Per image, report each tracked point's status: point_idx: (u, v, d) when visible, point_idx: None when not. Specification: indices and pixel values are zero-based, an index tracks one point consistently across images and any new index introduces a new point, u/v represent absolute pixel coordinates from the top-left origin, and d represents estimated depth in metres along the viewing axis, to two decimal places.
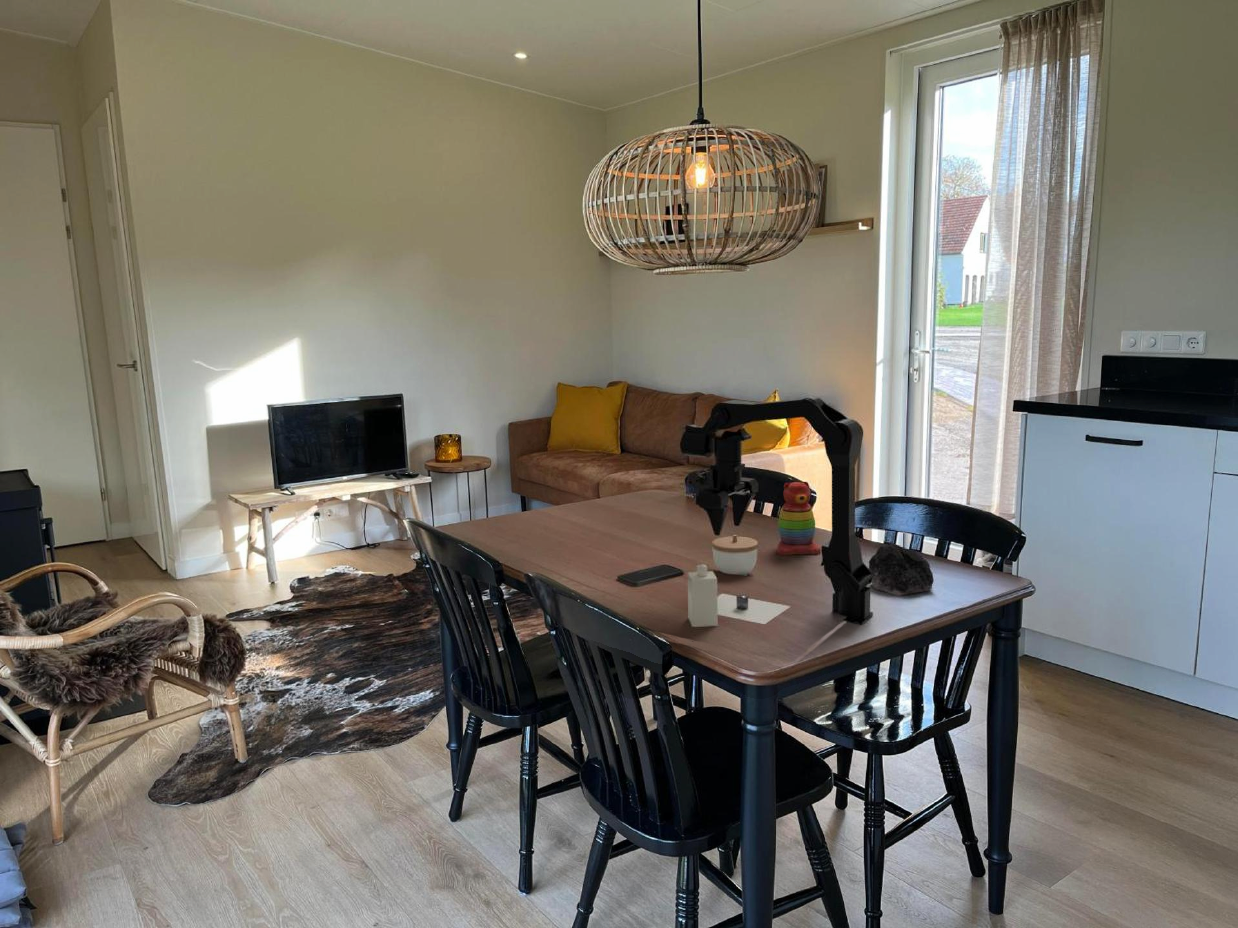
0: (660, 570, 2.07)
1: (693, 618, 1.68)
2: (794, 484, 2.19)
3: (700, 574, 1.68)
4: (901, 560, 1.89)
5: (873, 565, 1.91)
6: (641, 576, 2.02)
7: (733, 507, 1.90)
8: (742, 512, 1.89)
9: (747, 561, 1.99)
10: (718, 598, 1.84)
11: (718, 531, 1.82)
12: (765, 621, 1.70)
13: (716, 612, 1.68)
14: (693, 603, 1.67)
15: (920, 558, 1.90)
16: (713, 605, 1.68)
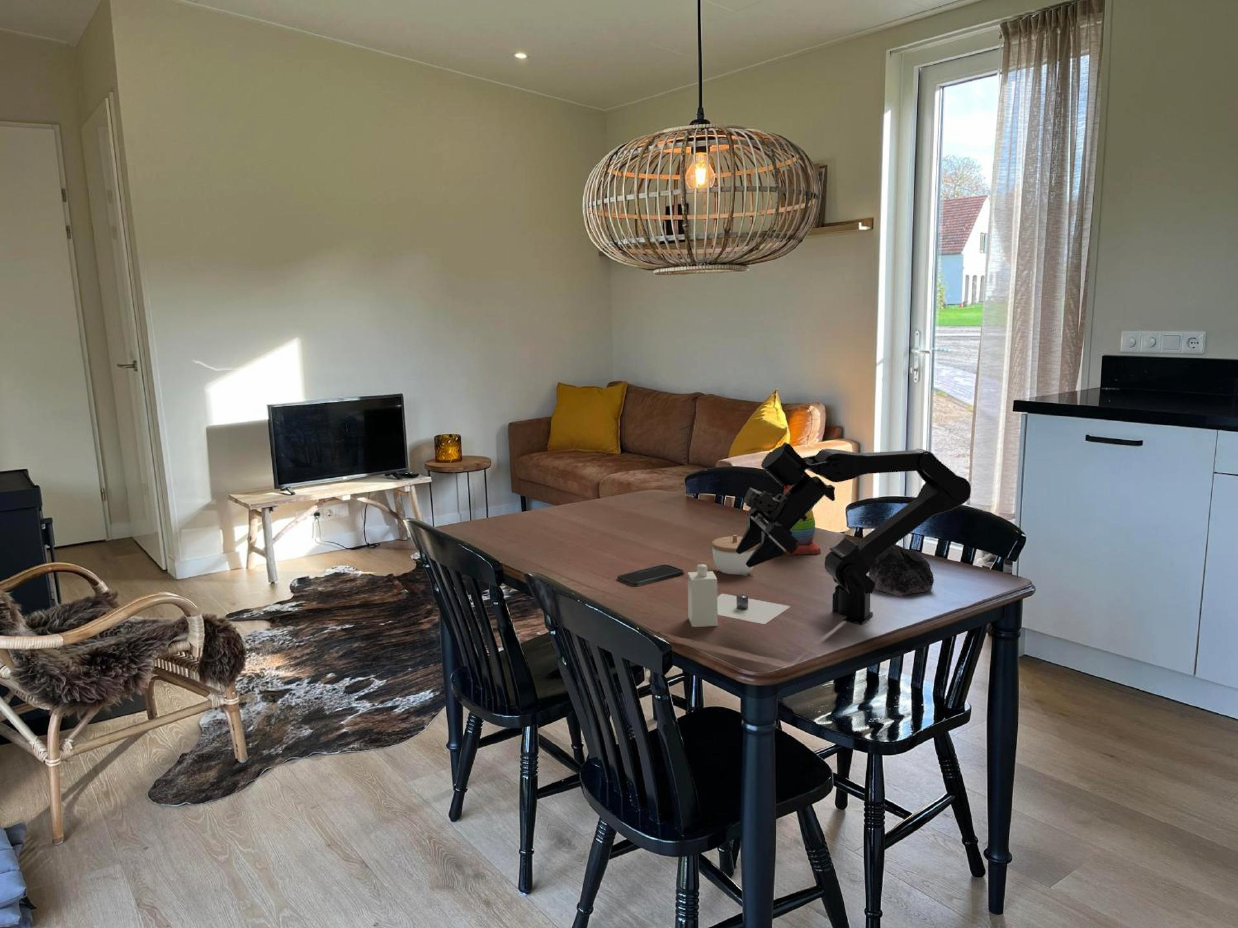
0: (660, 570, 2.07)
1: (693, 618, 1.68)
2: None
3: (700, 574, 1.68)
4: (901, 560, 1.88)
5: (874, 566, 1.91)
6: (641, 576, 2.02)
7: (747, 535, 1.73)
8: (752, 545, 1.74)
9: None
10: (718, 598, 1.84)
11: (753, 564, 1.64)
12: (765, 621, 1.70)
13: (716, 612, 1.68)
14: (693, 603, 1.67)
15: (920, 558, 1.90)
16: (713, 605, 1.68)
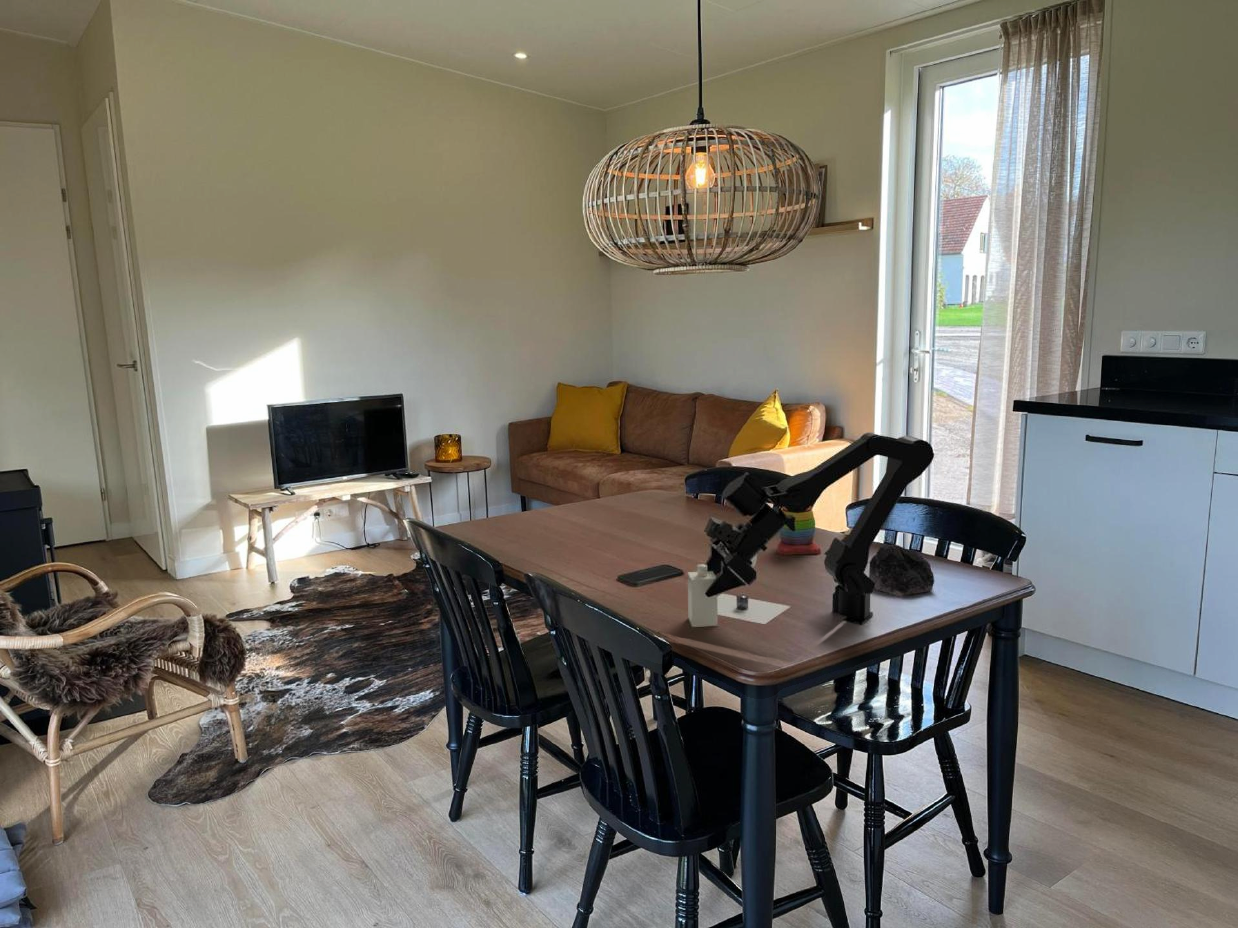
0: (660, 570, 2.07)
1: (693, 618, 1.68)
2: None
3: (700, 574, 1.68)
4: (902, 561, 1.88)
5: (874, 566, 1.91)
6: (641, 576, 2.02)
7: (709, 563, 1.74)
8: (714, 573, 1.74)
9: None
10: (718, 598, 1.84)
11: (712, 594, 1.65)
12: (765, 621, 1.70)
13: (716, 612, 1.68)
14: (693, 603, 1.67)
15: (921, 558, 1.90)
16: (713, 605, 1.68)
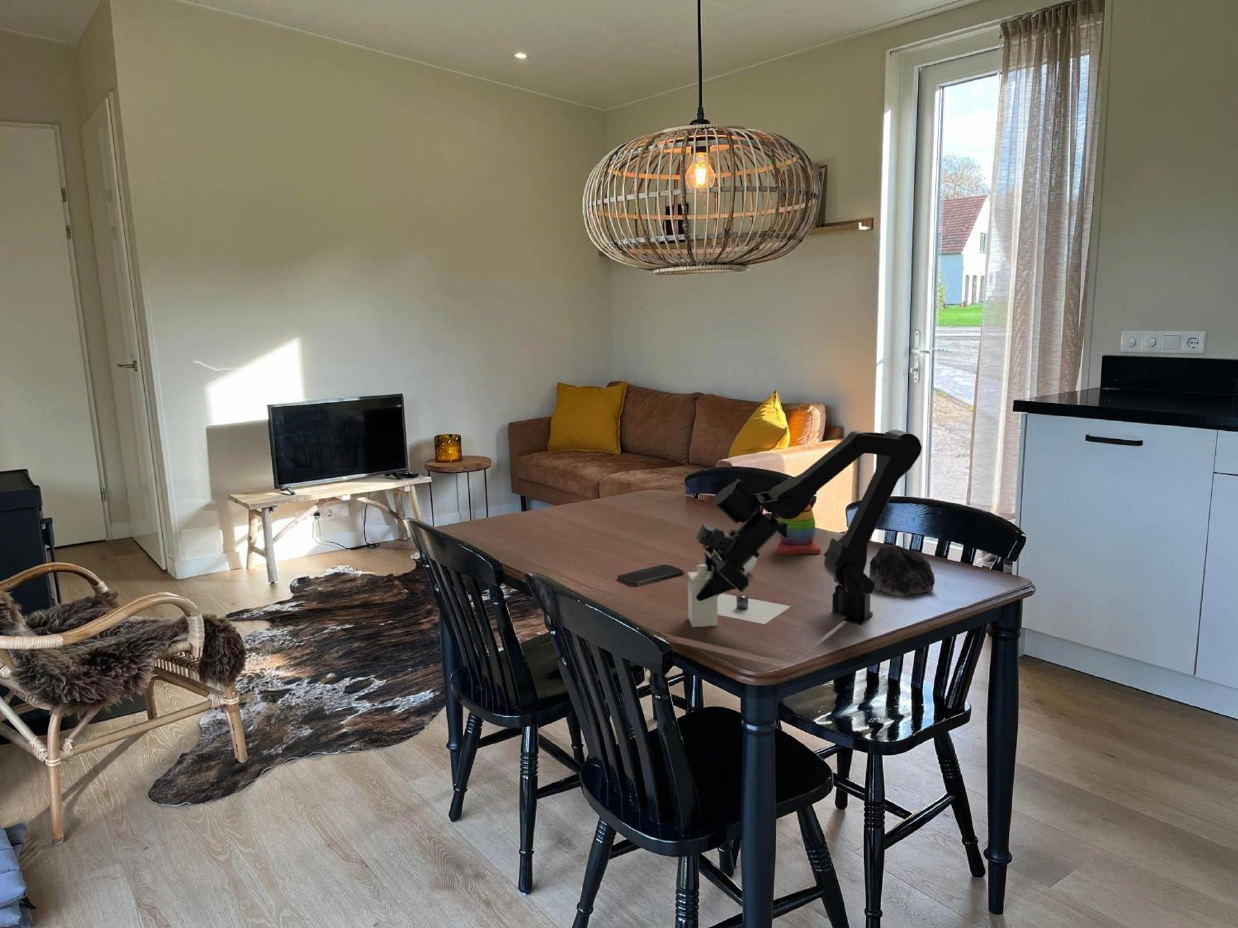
0: (660, 570, 2.07)
1: (693, 618, 1.68)
2: None
3: (700, 574, 1.68)
4: (902, 561, 1.88)
5: (874, 566, 1.90)
6: (641, 576, 2.02)
7: None
8: None
9: None
10: (718, 598, 1.84)
11: (703, 598, 1.67)
12: (765, 621, 1.70)
13: (716, 612, 1.68)
14: (693, 603, 1.67)
15: (921, 559, 1.89)
16: (713, 605, 1.68)
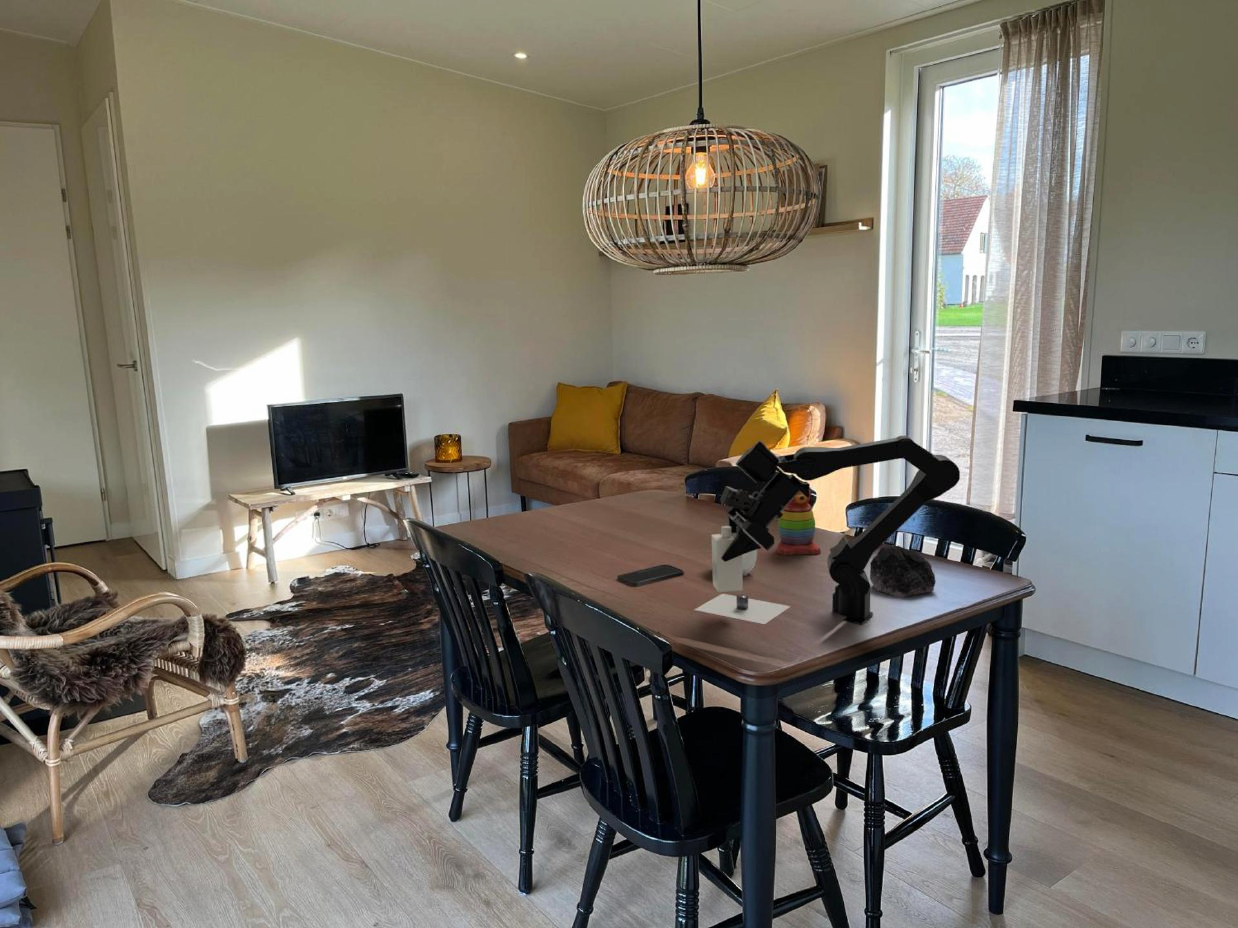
0: (660, 570, 2.07)
1: (718, 579, 1.70)
2: None
3: (724, 535, 1.71)
4: (903, 561, 1.88)
5: (875, 567, 1.90)
6: (641, 576, 2.02)
7: None
8: None
9: (747, 561, 1.99)
10: (718, 598, 1.84)
11: (729, 558, 1.69)
12: (765, 621, 1.70)
13: (741, 572, 1.71)
14: (718, 564, 1.70)
15: (922, 559, 1.89)
16: (738, 565, 1.70)
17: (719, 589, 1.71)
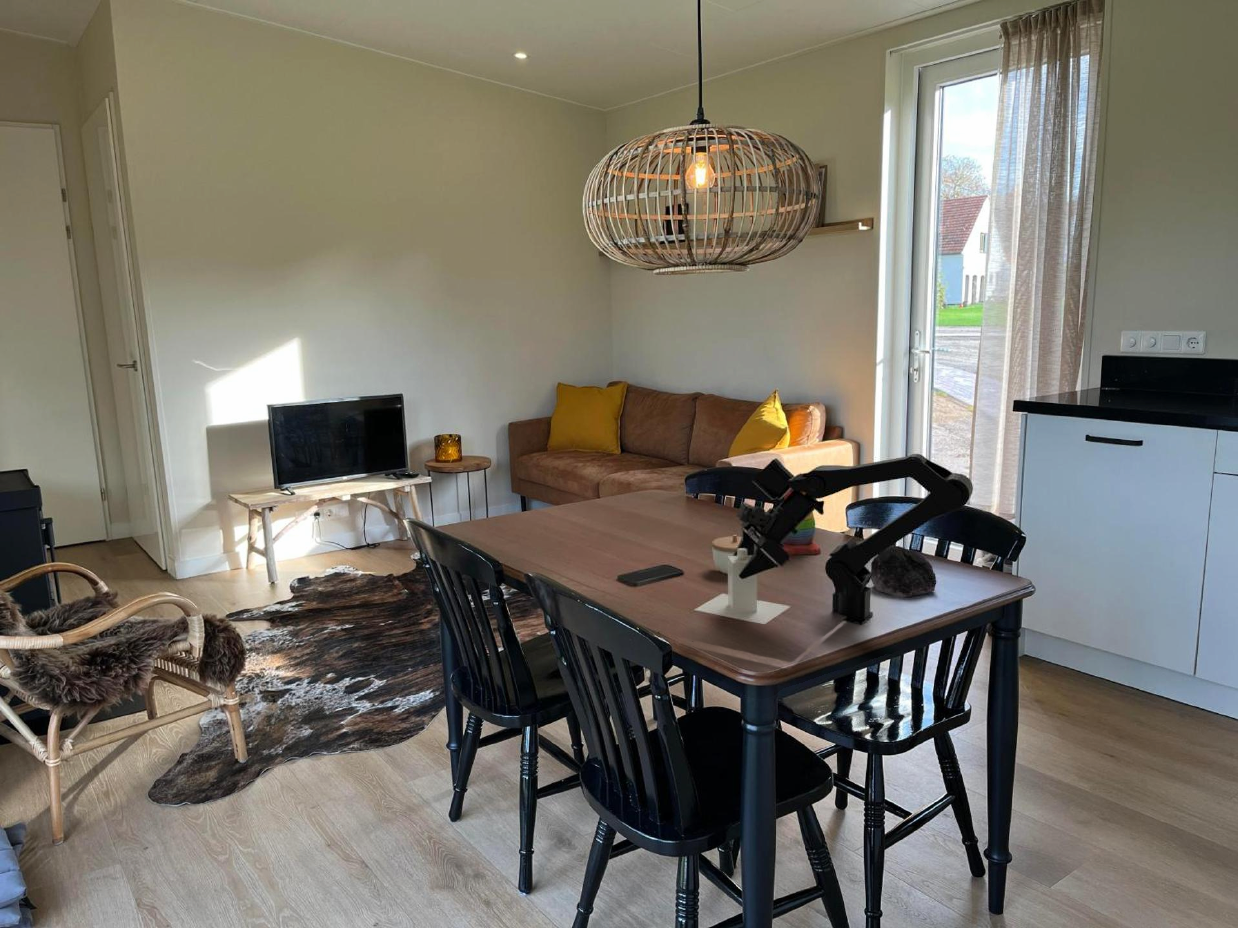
0: (660, 570, 2.07)
1: (733, 600, 1.75)
2: None
3: (740, 557, 1.75)
4: (904, 562, 1.87)
5: (876, 567, 1.90)
6: (641, 576, 2.02)
7: (740, 547, 1.80)
8: None
9: None
10: (718, 598, 1.84)
11: (746, 576, 1.71)
12: (765, 621, 1.70)
13: (756, 594, 1.75)
14: (734, 585, 1.74)
15: (922, 559, 1.89)
16: (753, 587, 1.75)
17: (734, 610, 1.75)
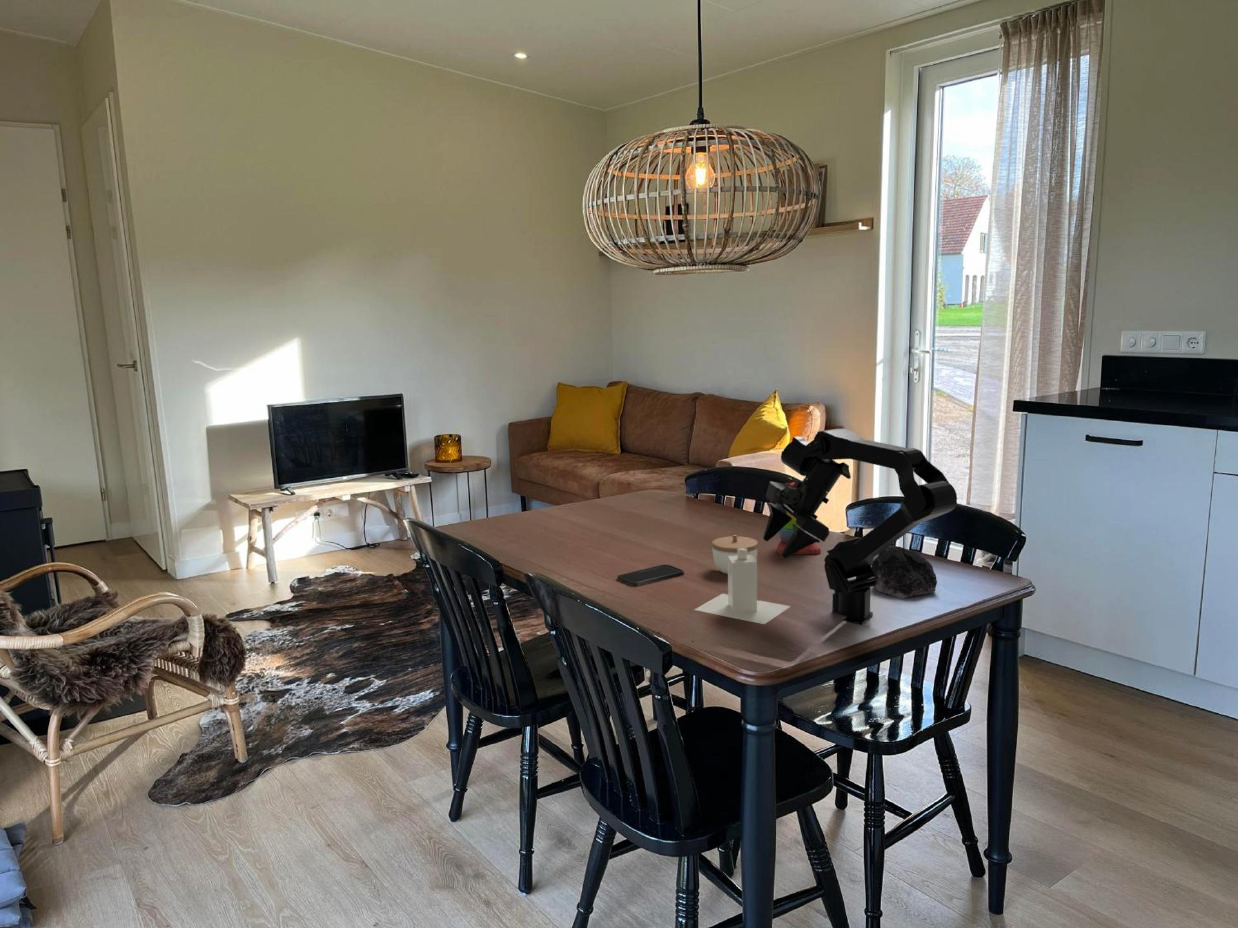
0: (660, 570, 2.07)
1: (733, 600, 1.75)
2: None
3: (740, 557, 1.75)
4: (904, 562, 1.87)
5: (876, 568, 1.89)
6: (641, 576, 2.02)
7: (771, 522, 1.81)
8: (777, 530, 1.82)
9: None
10: (718, 598, 1.84)
11: (789, 555, 1.73)
12: (765, 621, 1.70)
13: (756, 594, 1.75)
14: (734, 585, 1.74)
15: (923, 560, 1.88)
16: (753, 587, 1.75)
17: (734, 610, 1.75)
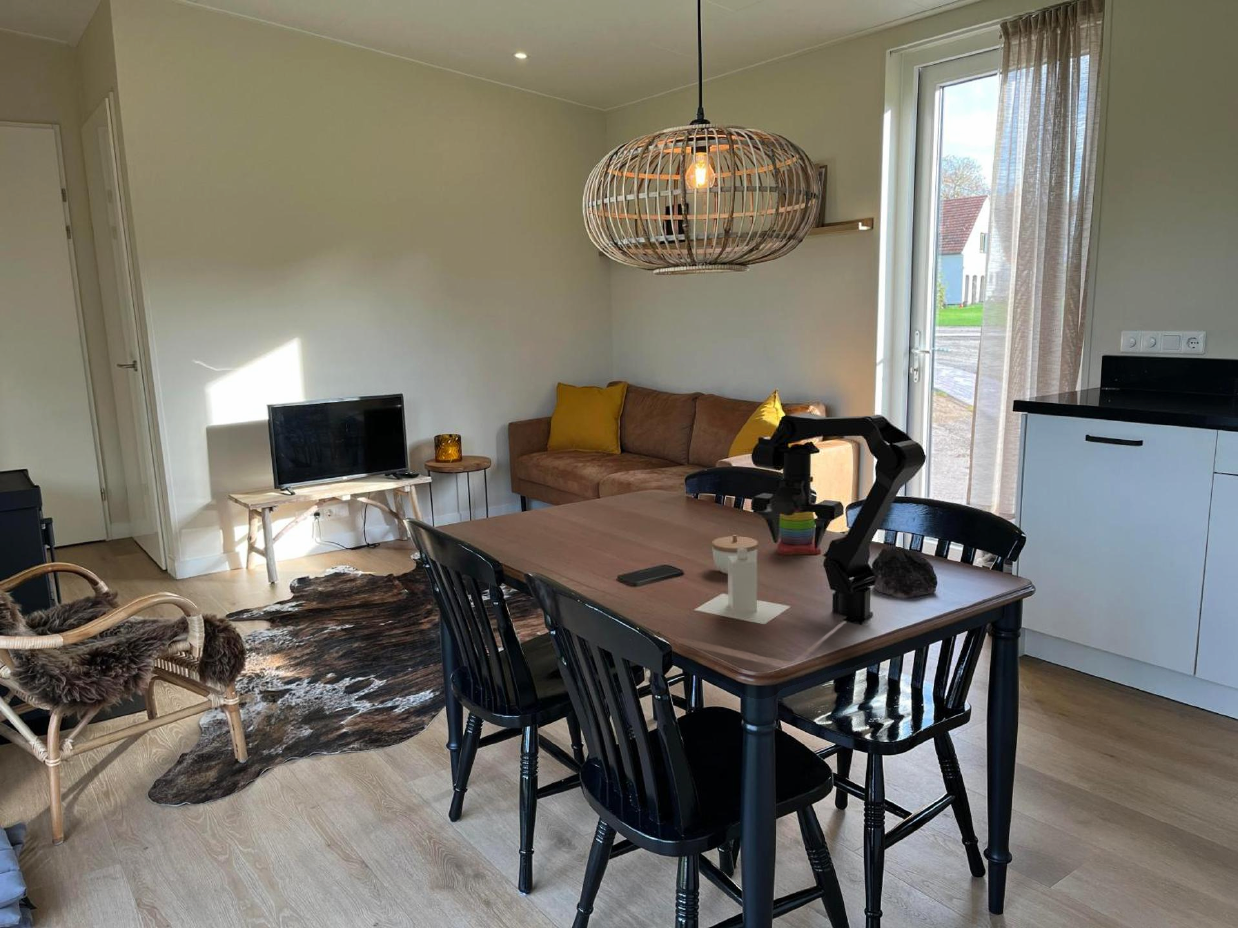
0: (660, 570, 2.07)
1: (733, 600, 1.75)
2: None
3: (740, 557, 1.75)
4: (905, 562, 1.87)
5: (877, 568, 1.89)
6: (641, 576, 2.02)
7: (773, 525, 1.84)
8: (778, 527, 1.86)
9: None
10: (718, 598, 1.84)
11: (819, 543, 1.80)
12: (765, 621, 1.70)
13: (756, 594, 1.75)
14: (734, 585, 1.74)
15: (923, 560, 1.88)
16: (753, 587, 1.75)
17: (734, 610, 1.75)
